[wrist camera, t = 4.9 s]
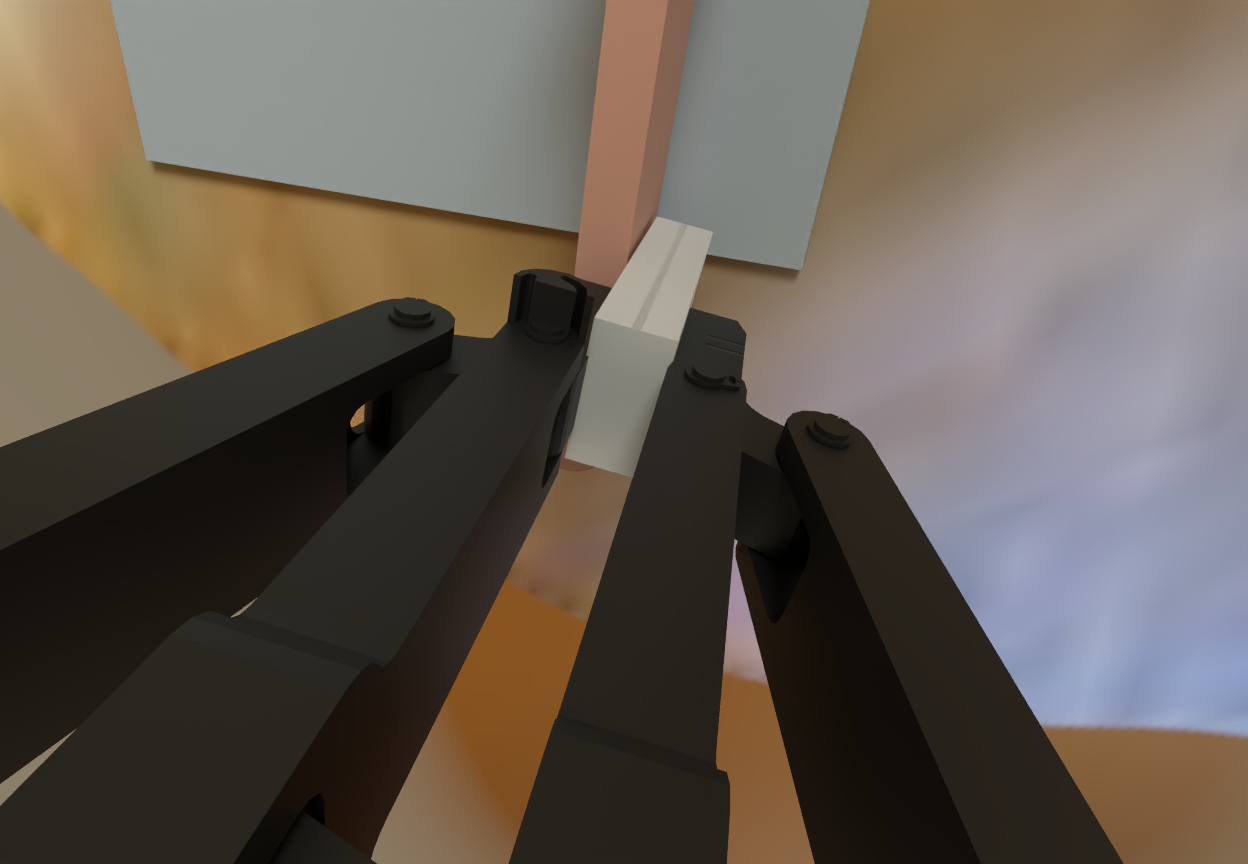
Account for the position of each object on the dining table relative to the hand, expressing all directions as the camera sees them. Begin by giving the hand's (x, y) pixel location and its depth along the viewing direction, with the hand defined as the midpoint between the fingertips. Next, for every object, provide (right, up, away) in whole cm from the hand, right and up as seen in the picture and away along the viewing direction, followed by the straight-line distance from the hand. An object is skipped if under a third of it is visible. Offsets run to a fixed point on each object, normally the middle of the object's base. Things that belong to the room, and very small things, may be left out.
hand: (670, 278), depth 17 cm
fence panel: (-1, +3, 0) cm, 3 cm away
